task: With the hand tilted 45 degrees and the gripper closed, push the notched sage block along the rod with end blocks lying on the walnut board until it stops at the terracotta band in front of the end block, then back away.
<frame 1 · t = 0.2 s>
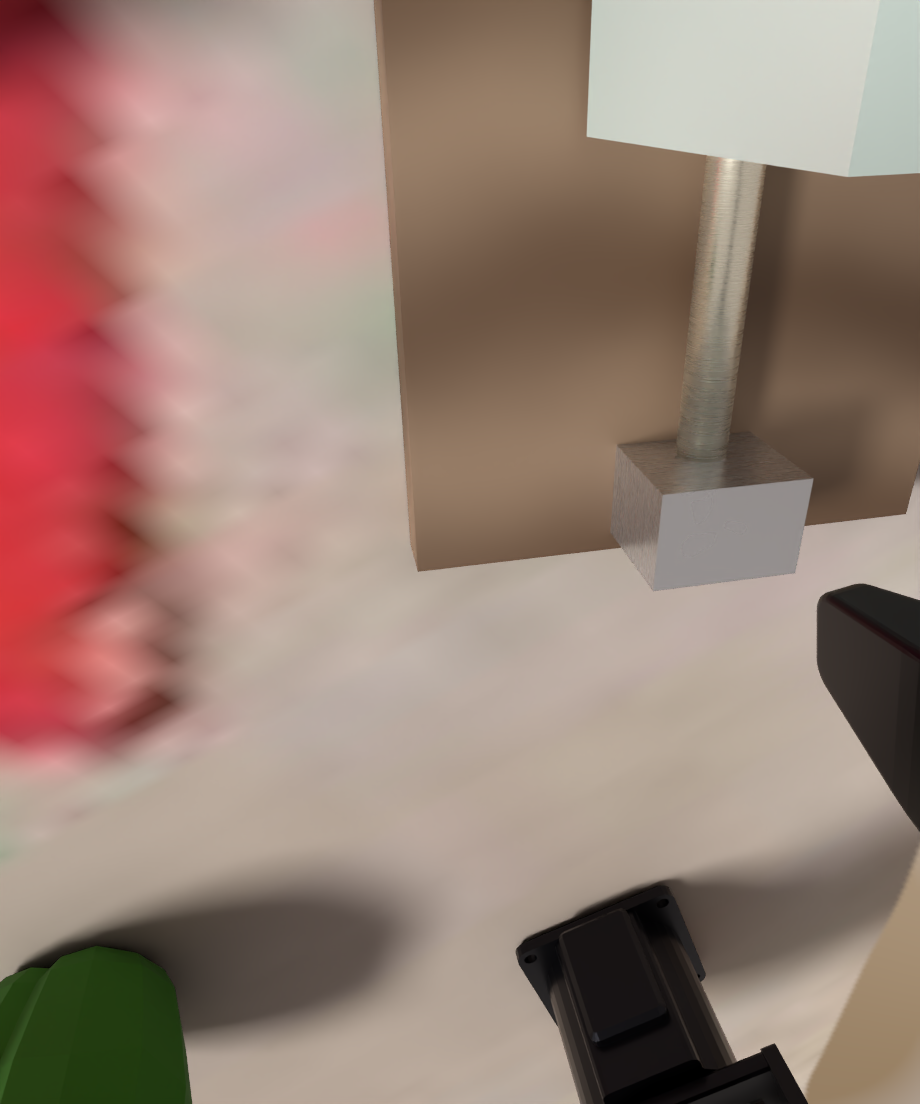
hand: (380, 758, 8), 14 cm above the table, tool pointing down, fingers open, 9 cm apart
rod with end blocks: (693, 76, 18), resting on cord board
cord board: (693, 76, 18), on the table
bell pepper: (90, 985, 29), on the table
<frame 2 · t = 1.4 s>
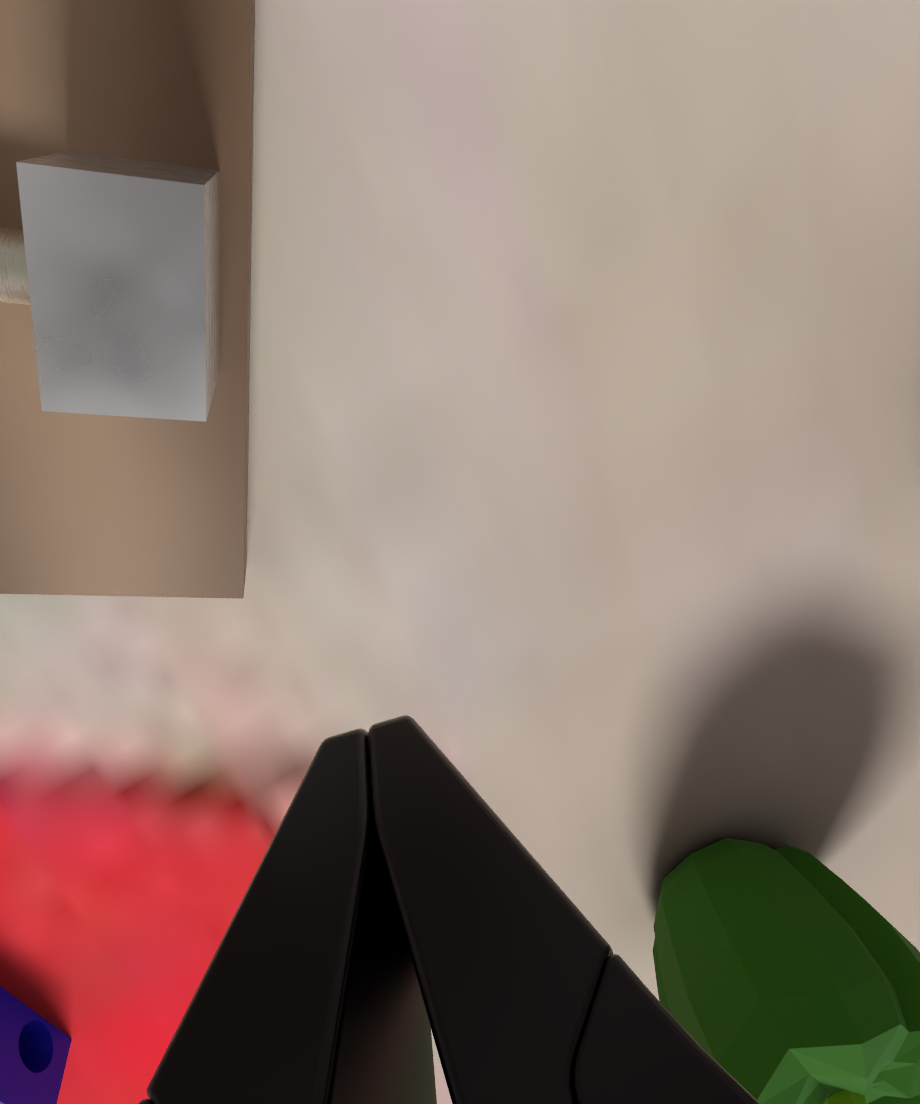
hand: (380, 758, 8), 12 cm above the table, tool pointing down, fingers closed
bell pepper: (719, 882, 29), on the table
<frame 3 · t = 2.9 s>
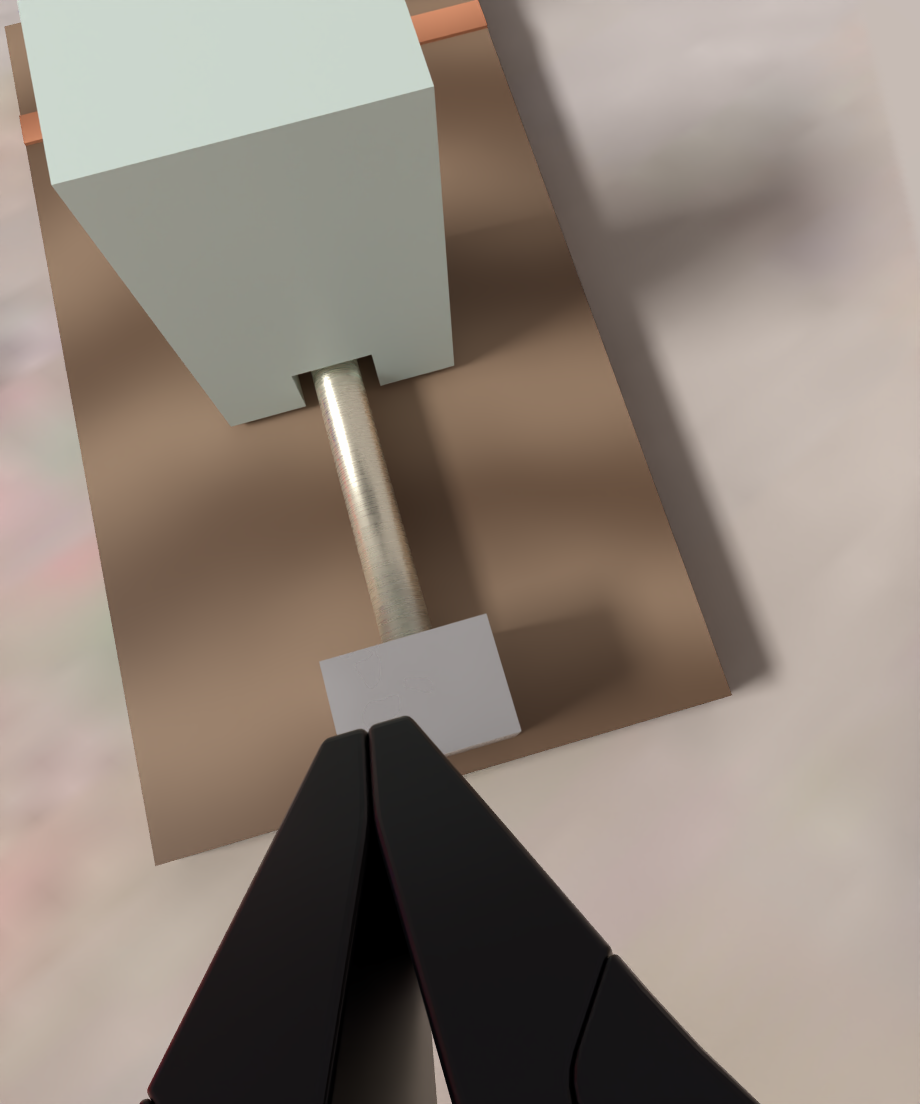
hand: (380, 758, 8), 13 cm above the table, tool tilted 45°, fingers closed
rod with end blocks: (345, 392, 24), resting on cord board
notched sage block: (285, 219, 18), point 6 cm above the table, slide at 0.0 cm
cord board: (345, 392, 24), on the table
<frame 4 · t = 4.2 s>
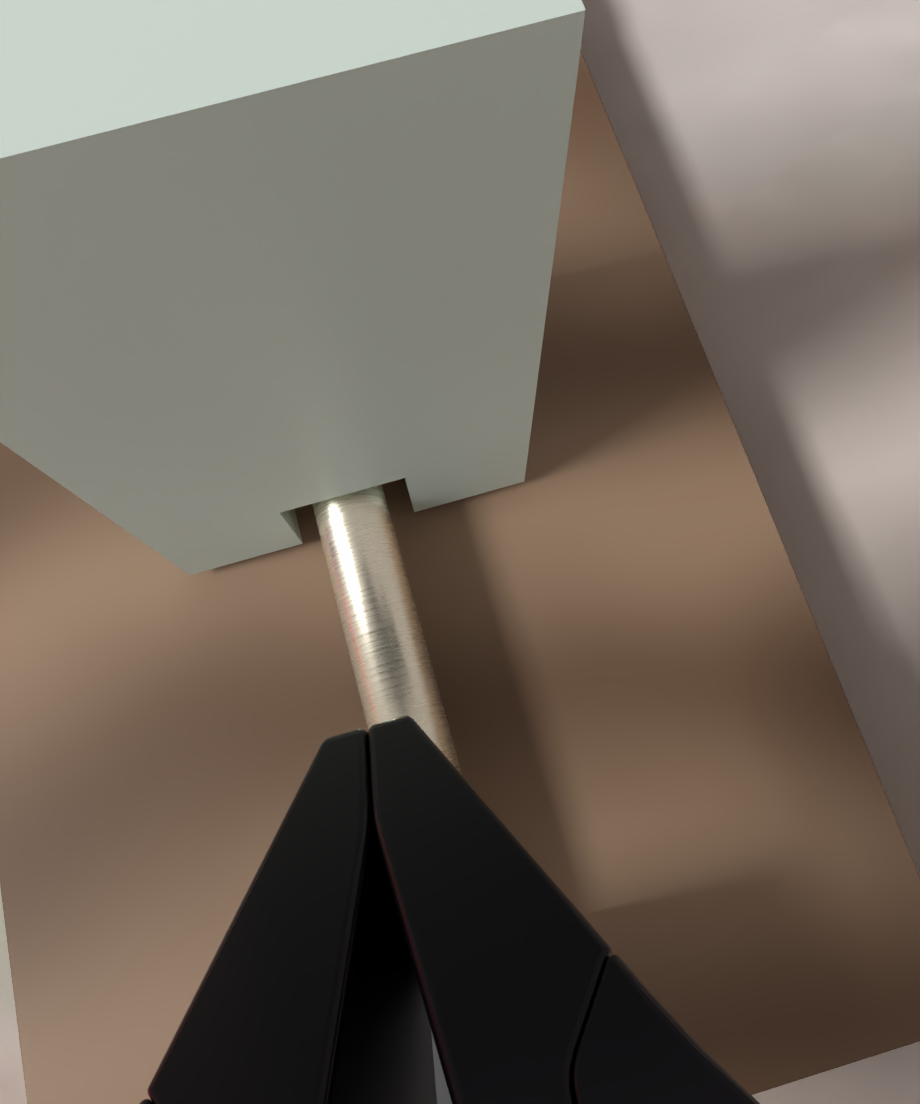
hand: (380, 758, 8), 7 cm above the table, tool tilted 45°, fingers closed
rod with end blocks: (360, 508, 16), resting on cord board
notched sage block: (266, 275, 10), point 6 cm above the table, slide at 0.0 cm
cord board: (360, 508, 16), on the table
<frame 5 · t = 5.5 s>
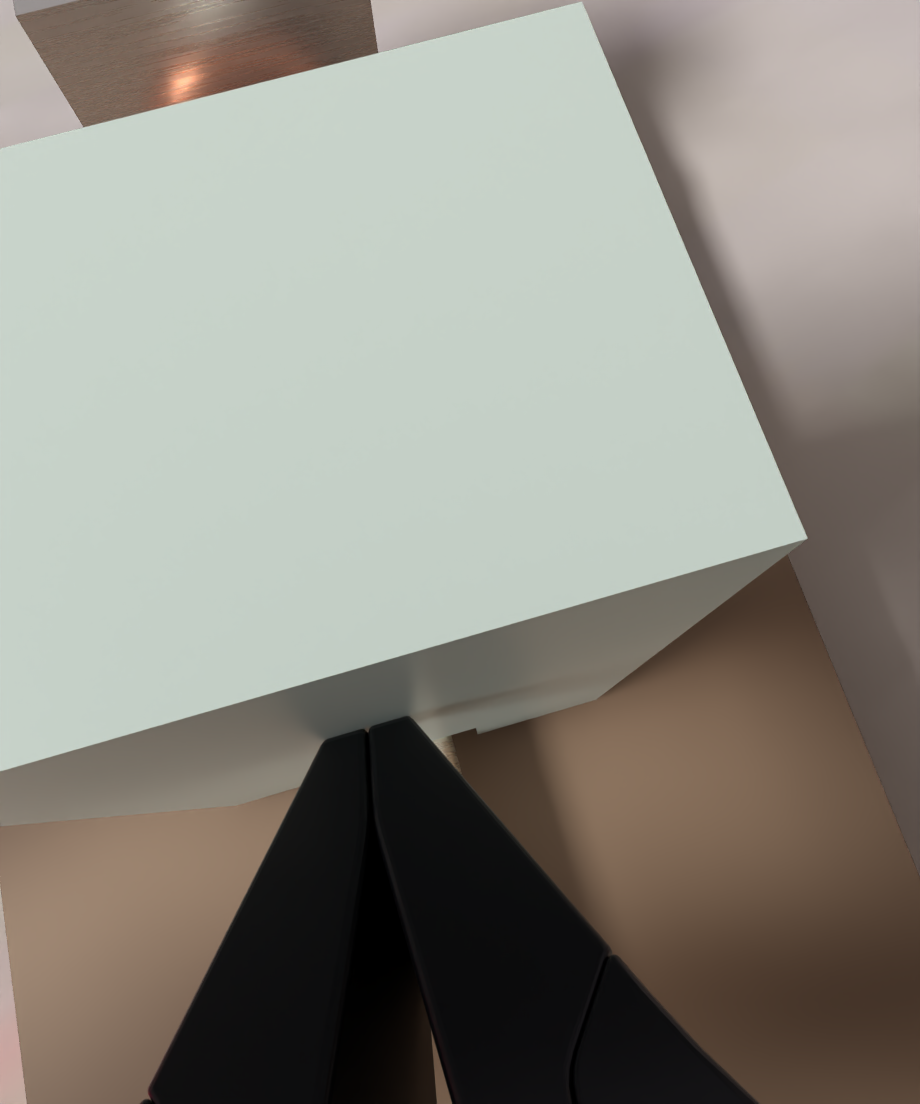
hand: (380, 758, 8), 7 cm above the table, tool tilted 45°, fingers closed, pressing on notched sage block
rod with end blocks: (425, 756, 15), resting on cord board
notched sage block: (340, 563, 9), point 6 cm above the table, slide at 1.0 cm, touching gripper
cord board: (425, 756, 15), on the table
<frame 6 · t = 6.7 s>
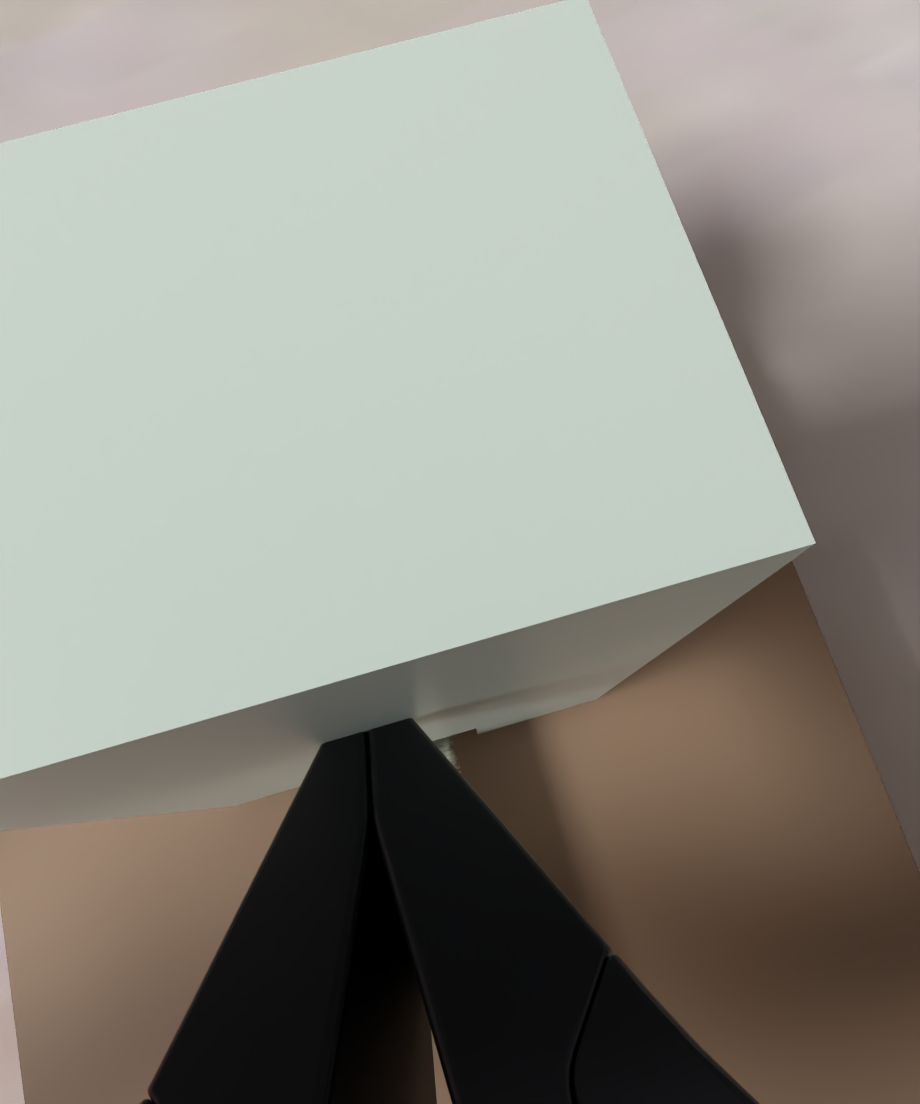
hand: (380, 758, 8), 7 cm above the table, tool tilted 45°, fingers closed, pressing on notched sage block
rod with end blocks: (512, 1081, 14), resting on cord board
notched sage block: (339, 563, 9), point 6 cm above the table, slide at 6.4 cm, touching gripper
cord board: (512, 1081, 14), on the table
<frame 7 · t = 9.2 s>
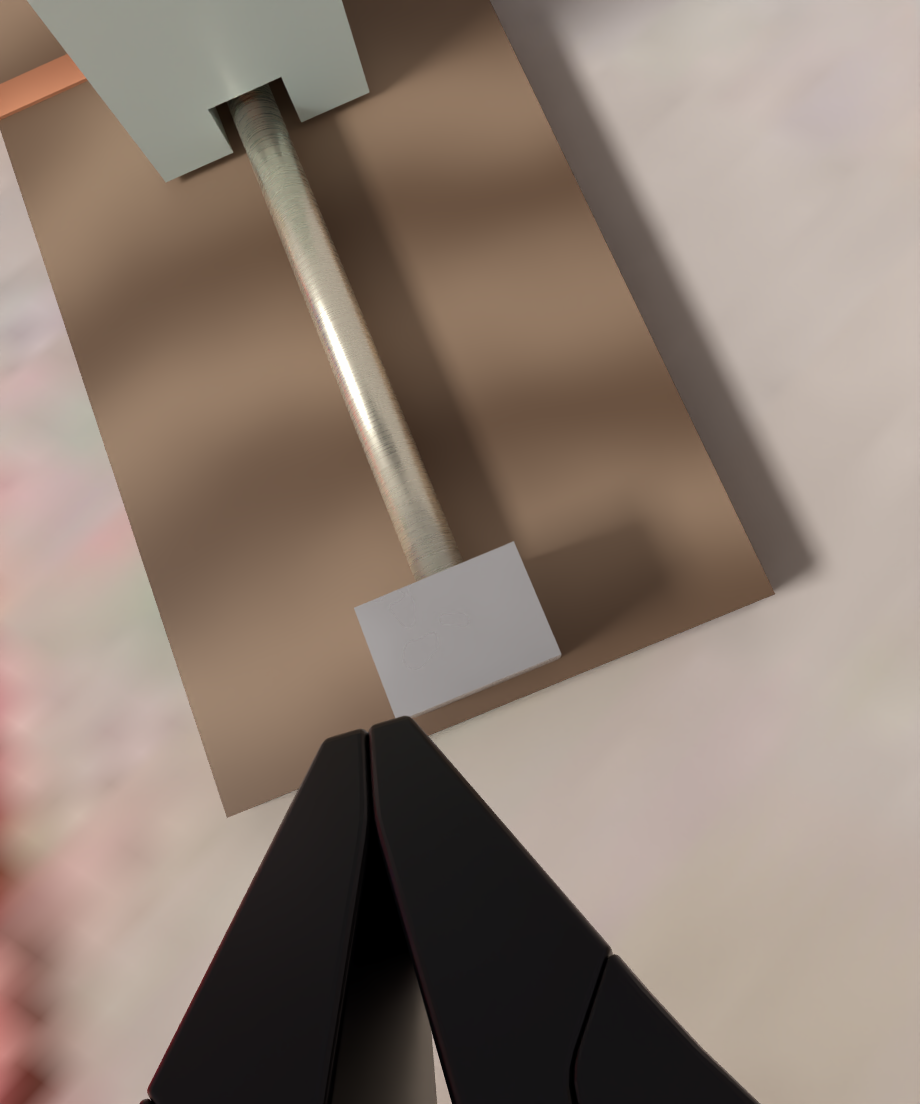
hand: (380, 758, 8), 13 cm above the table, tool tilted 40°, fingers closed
rod with end blocks: (350, 332, 23), resting on cord board
cord board: (350, 332, 23), on the table
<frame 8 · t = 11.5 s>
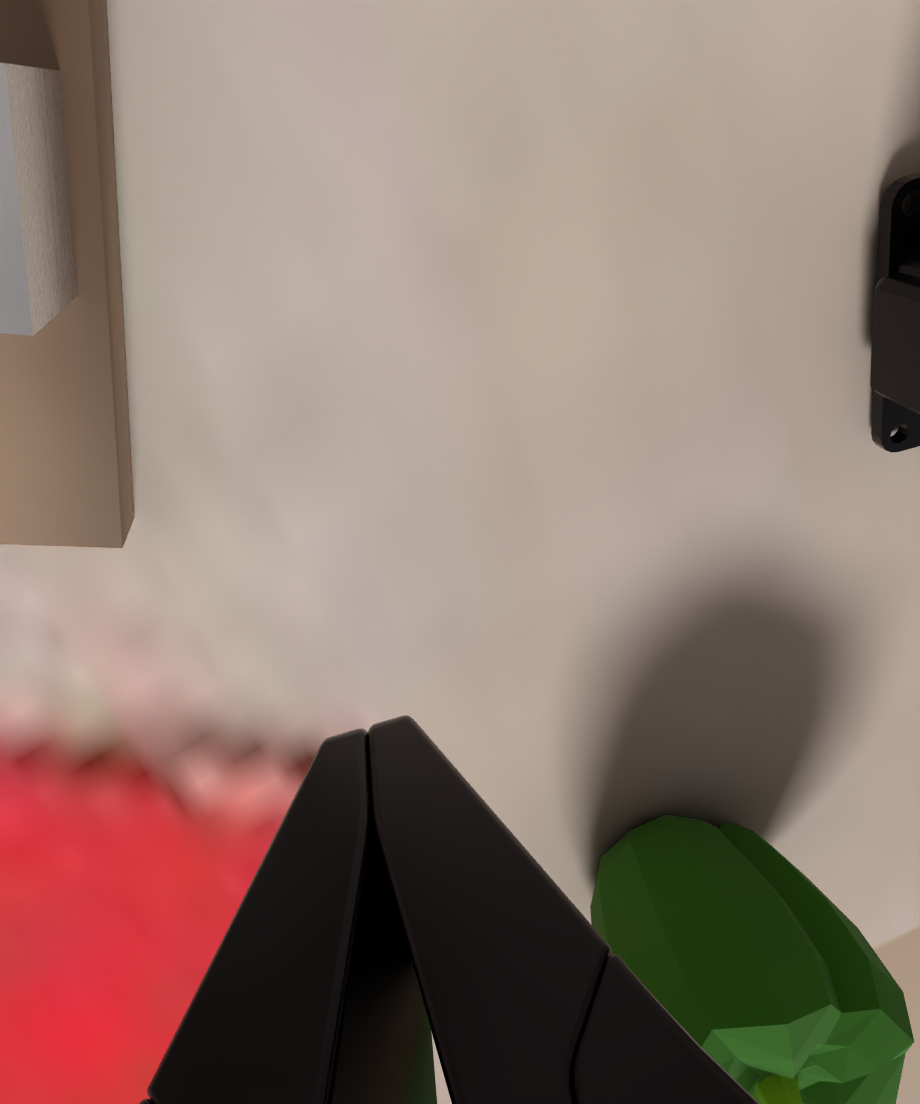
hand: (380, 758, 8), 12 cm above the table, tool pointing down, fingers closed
bell pepper: (663, 861, 28), on the table
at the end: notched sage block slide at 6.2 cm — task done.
